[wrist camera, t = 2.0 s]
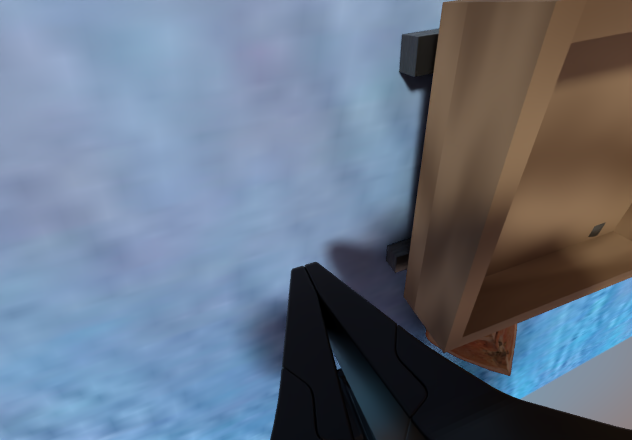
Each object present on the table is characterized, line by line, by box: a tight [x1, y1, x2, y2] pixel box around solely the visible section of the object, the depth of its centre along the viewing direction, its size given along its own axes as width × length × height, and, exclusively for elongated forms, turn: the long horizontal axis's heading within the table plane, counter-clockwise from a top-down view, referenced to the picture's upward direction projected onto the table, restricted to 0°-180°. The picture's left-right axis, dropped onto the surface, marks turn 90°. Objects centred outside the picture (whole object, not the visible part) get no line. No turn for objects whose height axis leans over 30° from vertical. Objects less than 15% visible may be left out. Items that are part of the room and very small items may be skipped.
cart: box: [404, 0, 632, 353], centre depth 13 cm, size 13×14×4 cm
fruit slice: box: [426, 324, 517, 376], centre depth 20 cm, size 8×7×5 cm
